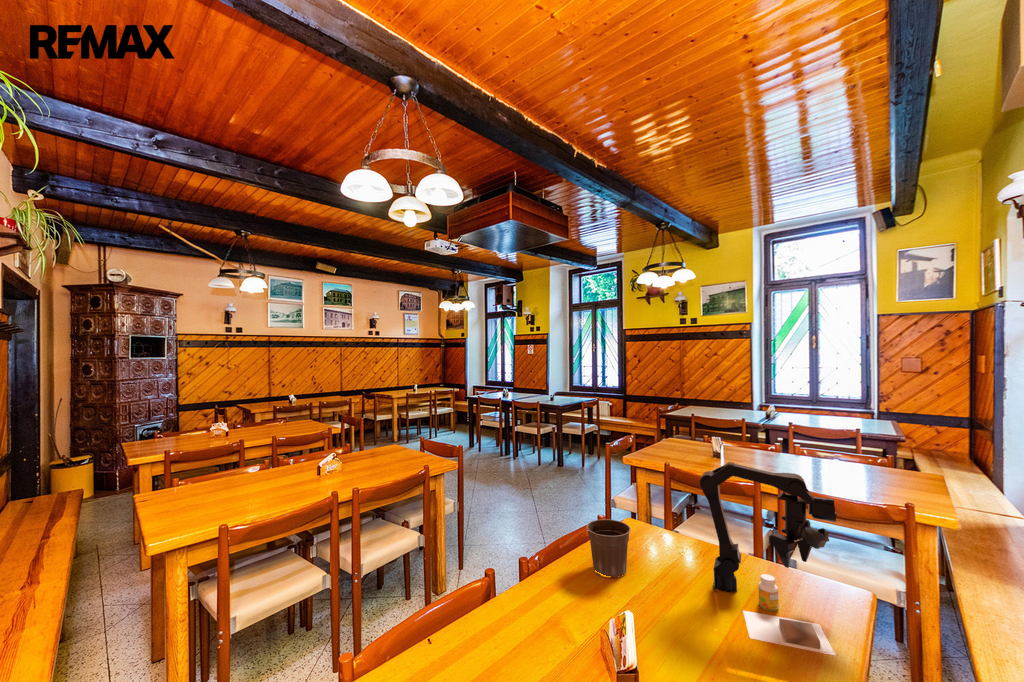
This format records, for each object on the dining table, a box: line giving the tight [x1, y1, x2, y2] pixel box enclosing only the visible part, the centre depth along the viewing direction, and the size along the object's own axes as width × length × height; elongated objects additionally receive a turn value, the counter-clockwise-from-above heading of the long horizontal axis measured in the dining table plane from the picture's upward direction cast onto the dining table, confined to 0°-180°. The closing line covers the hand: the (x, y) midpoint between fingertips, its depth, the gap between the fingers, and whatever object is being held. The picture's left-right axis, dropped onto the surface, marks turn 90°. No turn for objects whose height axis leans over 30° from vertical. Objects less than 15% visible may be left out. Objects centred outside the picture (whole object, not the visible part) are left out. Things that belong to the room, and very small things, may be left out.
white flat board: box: [742, 610, 836, 657], centre depth 122 cm, size 20×14×1 cm
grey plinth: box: [779, 618, 820, 649], centre depth 119 cm, size 8×8×2 cm
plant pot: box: [586, 518, 631, 578], centre depth 160 cm, size 16×16×16 cm
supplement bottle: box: [757, 573, 780, 612], centre depth 134 cm, size 5×5×10 cm
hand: (795, 564), depth 135 cm, fingers open, 9 cm apart
